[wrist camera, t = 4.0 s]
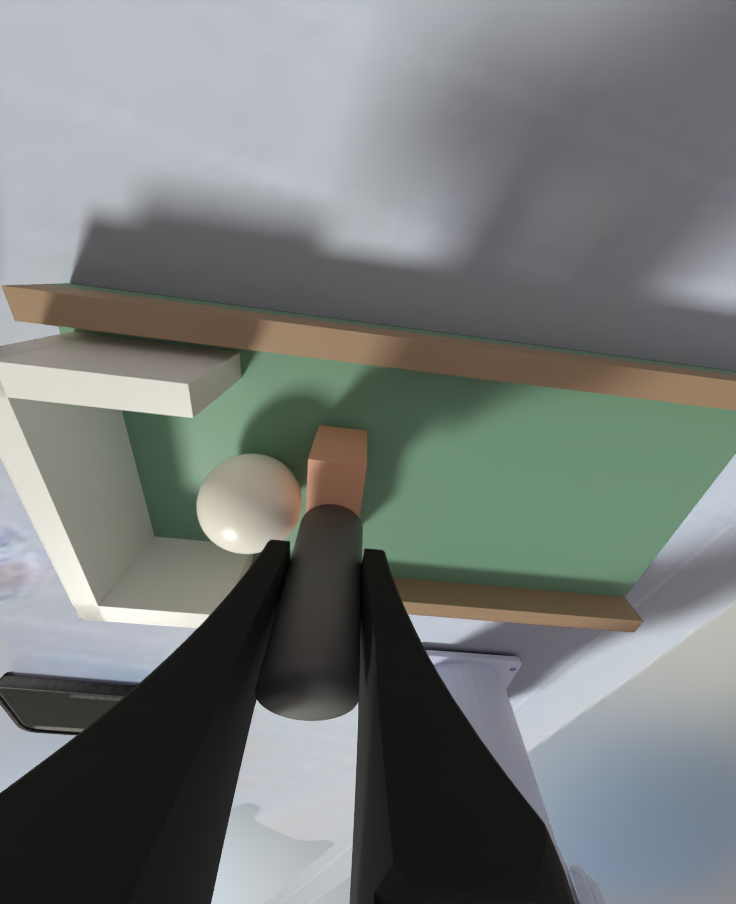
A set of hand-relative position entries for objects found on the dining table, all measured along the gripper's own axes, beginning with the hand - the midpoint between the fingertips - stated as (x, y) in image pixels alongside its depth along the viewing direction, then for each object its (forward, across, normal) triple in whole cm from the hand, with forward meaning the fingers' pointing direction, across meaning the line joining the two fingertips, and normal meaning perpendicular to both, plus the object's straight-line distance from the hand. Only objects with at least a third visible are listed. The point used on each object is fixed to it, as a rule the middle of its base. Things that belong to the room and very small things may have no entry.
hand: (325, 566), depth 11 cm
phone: (+6, +18, +26) cm, 32 cm away
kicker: (+5, 0, 0) cm, 5 cm away
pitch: (+6, -3, 0) cm, 7 cm away
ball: (+3, +3, 0) cm, 4 cm away
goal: (+5, +7, 0) cm, 8 cm away
